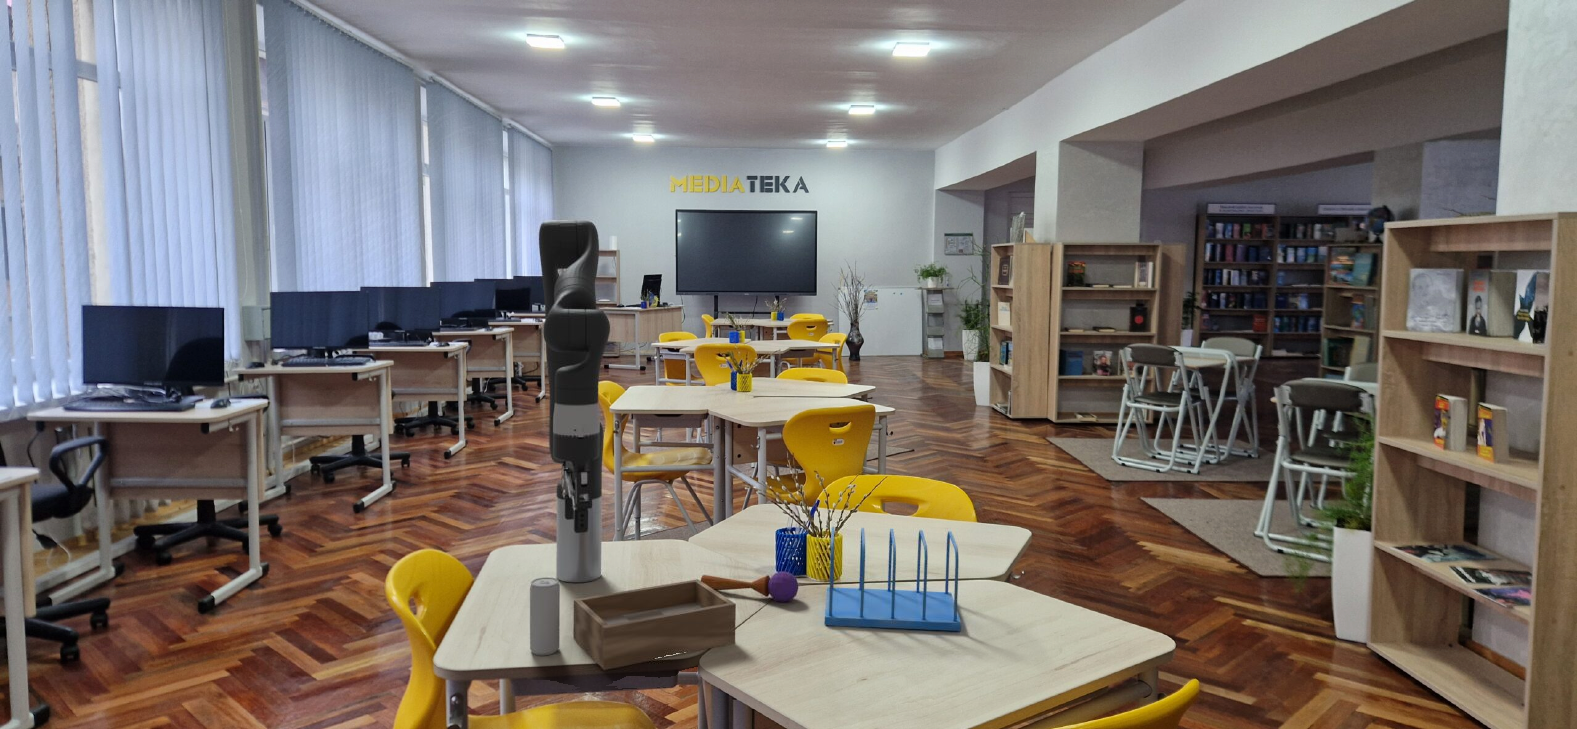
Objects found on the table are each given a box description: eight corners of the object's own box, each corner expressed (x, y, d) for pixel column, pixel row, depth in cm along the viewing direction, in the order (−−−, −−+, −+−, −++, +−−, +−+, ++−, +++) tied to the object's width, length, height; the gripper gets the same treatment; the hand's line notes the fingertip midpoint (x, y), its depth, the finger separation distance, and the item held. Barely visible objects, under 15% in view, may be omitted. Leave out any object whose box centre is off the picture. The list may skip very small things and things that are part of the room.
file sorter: (951, 601, 188) (954, 526, 187) (961, 634, 171) (964, 552, 169) (826, 595, 190) (829, 521, 188) (824, 627, 172) (826, 545, 171)
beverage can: (551, 658, 155) (551, 587, 154) (524, 654, 156) (524, 585, 155) (564, 646, 160) (564, 578, 159) (538, 644, 161) (538, 576, 160)
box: (573, 638, 164) (573, 599, 163) (697, 615, 176) (697, 579, 175) (604, 670, 151) (604, 628, 150) (734, 642, 163) (735, 604, 163)
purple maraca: (709, 566, 194) (801, 570, 188) (708, 596, 193) (801, 600, 187) (698, 569, 188) (793, 573, 182) (697, 600, 187) (793, 605, 181)
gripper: (546, 423, 160) (546, 516, 161) (560, 438, 147) (560, 538, 148) (590, 422, 163) (589, 513, 164) (608, 435, 150) (607, 534, 151)
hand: (575, 525), depth 156 cm, fingers open, 8 cm apart
